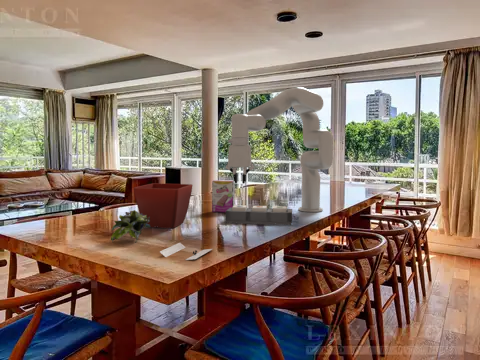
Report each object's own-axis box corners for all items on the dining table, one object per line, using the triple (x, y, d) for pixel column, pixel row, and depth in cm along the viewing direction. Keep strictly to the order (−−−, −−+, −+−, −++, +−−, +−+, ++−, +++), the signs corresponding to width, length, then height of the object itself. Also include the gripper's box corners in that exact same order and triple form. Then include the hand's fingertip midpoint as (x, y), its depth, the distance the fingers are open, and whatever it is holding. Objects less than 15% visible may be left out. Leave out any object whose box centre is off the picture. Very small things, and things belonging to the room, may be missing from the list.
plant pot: (177, 231, 143) (177, 188, 141) (133, 228, 147) (132, 187, 145) (193, 221, 162) (193, 184, 160) (153, 220, 165) (153, 183, 164)
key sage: (273, 212, 165) (273, 205, 165) (286, 213, 164) (286, 206, 164) (272, 214, 159) (272, 207, 159) (286, 215, 158) (286, 208, 158)
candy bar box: (211, 212, 186) (211, 180, 185) (213, 210, 191) (213, 179, 190) (233, 212, 185) (233, 180, 184) (234, 211, 190) (234, 180, 188)
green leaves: (132, 253, 132) (150, 221, 137) (142, 255, 122) (161, 220, 127) (101, 237, 127) (121, 204, 132) (109, 238, 117) (130, 202, 122)
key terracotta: (253, 212, 166) (253, 205, 166) (266, 212, 165) (266, 205, 165) (252, 214, 160) (252, 207, 160) (265, 214, 159) (265, 207, 159)
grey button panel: (230, 217, 172) (230, 206, 172) (292, 219, 168) (292, 208, 167) (224, 223, 158) (224, 211, 158) (291, 225, 154) (292, 213, 154)
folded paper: (195, 263, 104) (195, 256, 103) (159, 258, 108) (159, 251, 108) (213, 252, 115) (213, 245, 115) (180, 248, 119) (180, 242, 119)
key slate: (234, 211, 168) (234, 204, 167) (247, 211, 167) (247, 205, 166) (232, 213, 162) (232, 206, 161) (245, 214, 161) (245, 207, 160)
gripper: (220, 142, 159) (220, 183, 161) (257, 142, 157) (256, 184, 158) (223, 142, 166) (223, 182, 168) (258, 142, 164) (258, 182, 166)
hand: (239, 182), depth 163 cm, fingers open, 2 cm apart
